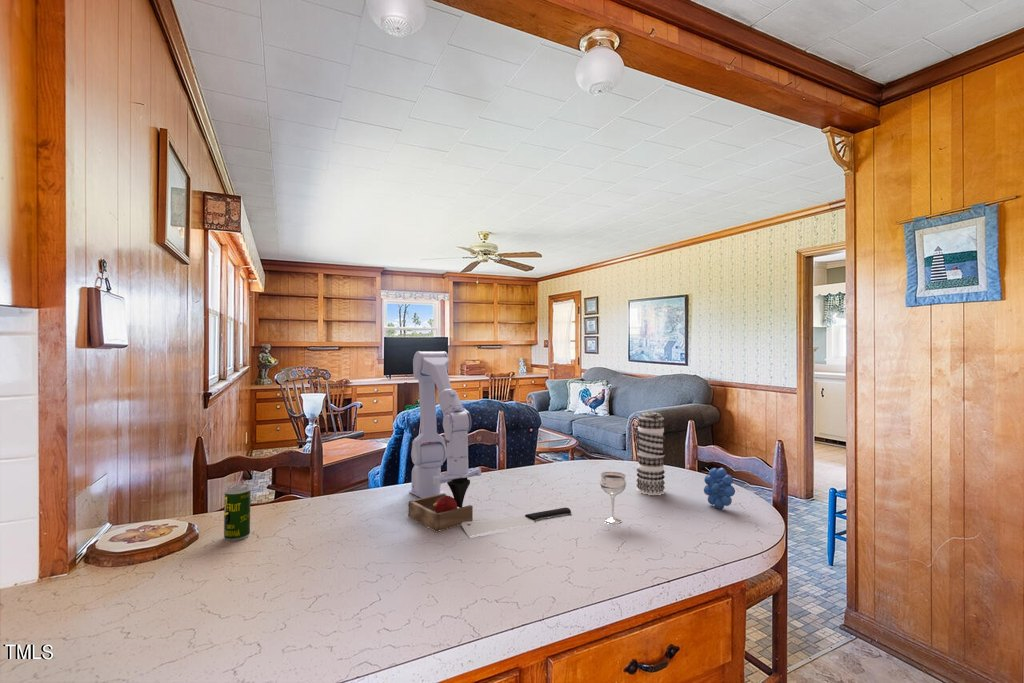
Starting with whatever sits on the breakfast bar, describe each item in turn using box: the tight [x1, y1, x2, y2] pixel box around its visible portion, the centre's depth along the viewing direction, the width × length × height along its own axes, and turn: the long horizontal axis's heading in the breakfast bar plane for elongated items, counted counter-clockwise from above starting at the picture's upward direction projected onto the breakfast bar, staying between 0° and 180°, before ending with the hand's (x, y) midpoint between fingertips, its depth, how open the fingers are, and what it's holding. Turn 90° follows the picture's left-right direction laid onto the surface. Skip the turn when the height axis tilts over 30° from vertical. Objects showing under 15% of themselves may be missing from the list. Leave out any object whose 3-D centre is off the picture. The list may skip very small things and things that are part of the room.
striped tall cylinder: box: [635, 411, 667, 496], centre depth 151 cm, size 9×9×25 cm
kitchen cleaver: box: [460, 507, 572, 538], centre depth 122 cm, size 31×2×10 cm
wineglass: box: [599, 471, 627, 523], centre depth 125 cm, size 7×7×12 cm
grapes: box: [703, 467, 736, 510], centre depth 135 cm, size 12×7×12 cm, turn 16°
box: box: [407, 493, 474, 532], centre depth 125 cm, size 14×11×4 cm
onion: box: [433, 494, 458, 513], centre depth 125 cm, size 6×6×8 cm
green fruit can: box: [223, 483, 252, 542], centre depth 112 cm, size 5×5×12 cm
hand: (458, 506), depth 128 cm, fingers closed, pressing on onion
